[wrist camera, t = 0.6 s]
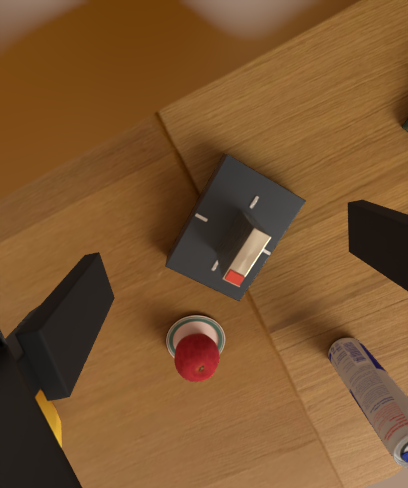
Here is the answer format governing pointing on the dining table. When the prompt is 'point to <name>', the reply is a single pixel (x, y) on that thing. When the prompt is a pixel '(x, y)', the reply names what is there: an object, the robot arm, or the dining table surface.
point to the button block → (405, 125)
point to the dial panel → (222, 216)
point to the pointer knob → (240, 248)
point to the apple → (196, 346)
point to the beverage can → (374, 394)
